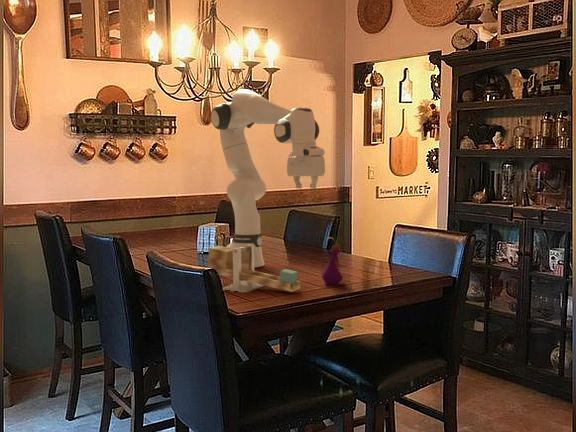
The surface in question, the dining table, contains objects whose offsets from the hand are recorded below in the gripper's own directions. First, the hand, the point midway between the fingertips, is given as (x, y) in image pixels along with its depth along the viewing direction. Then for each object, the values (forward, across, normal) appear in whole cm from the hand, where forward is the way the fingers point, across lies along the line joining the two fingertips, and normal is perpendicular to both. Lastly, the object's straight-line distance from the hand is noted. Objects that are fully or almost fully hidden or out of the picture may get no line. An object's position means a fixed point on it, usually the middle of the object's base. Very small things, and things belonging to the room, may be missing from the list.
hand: (305, 188), depth 246 cm
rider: (+34, +6, -14) cm, 37 cm away
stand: (+36, -10, -23) cm, 43 cm away
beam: (+32, -7, -21) cm, 39 cm away
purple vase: (+37, +4, +7) cm, 38 cm away
